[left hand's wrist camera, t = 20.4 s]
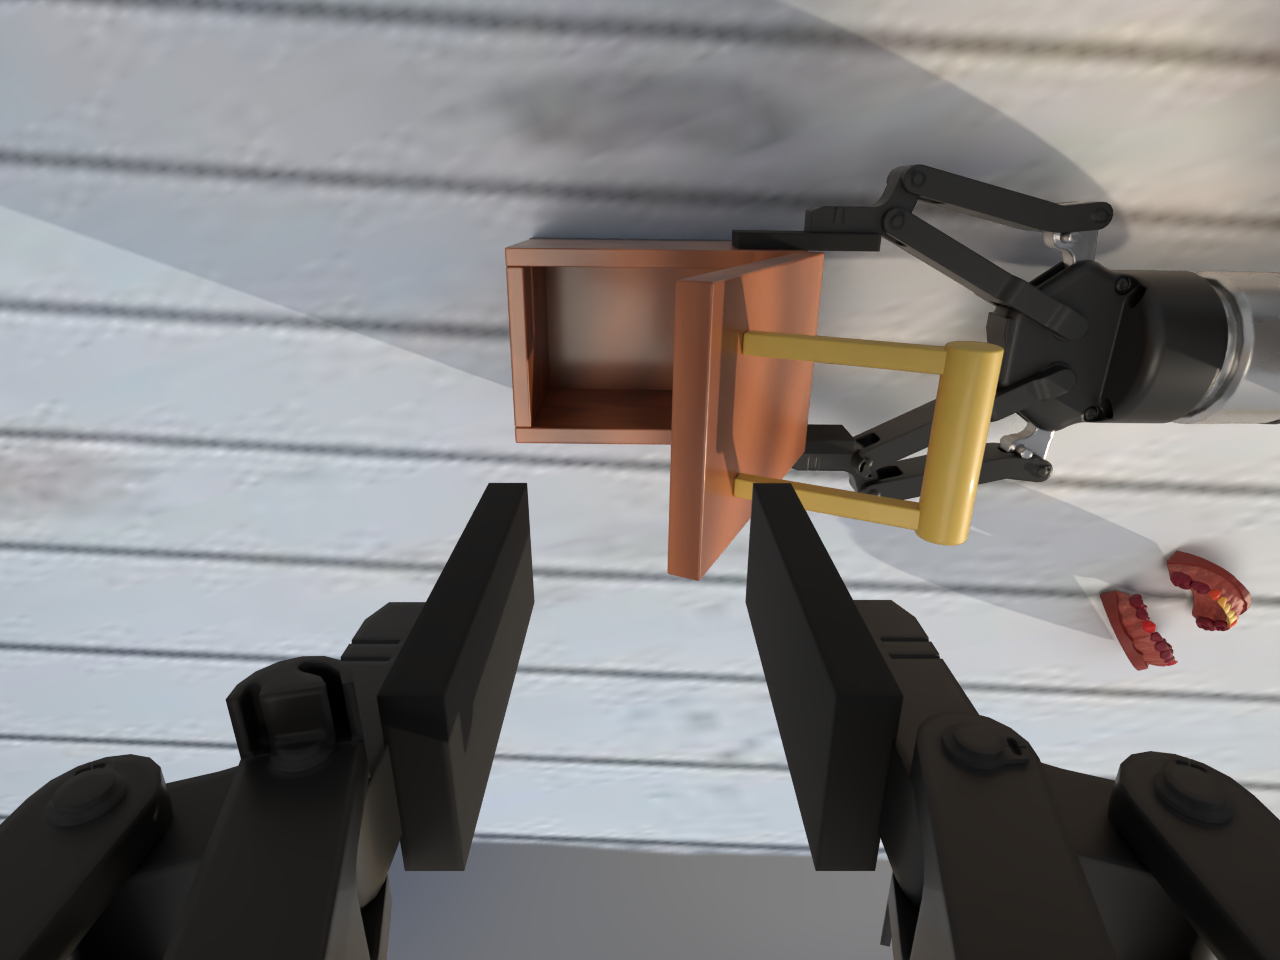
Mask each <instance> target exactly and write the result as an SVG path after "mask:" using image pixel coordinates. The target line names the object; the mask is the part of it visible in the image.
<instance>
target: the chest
mask: <svg viewBox="0 0 1280 960" xmlns="http://www.w3.org/2000/svg"><path fill="white" fill-rule="evenodd" d="M797 252H808V251H805V250H784V249H738V248H736V247H734V246H732V240H669V239H583V238H530V239H529V240H526V241H523V242H521V243H518V244H515V245H512V246H509V247H506V248H505V257H506V266H508V267H507V268H506V273H507V292H508V310H509V328H510V347H511V365H512V384H513V402H514V420H515V439H516V443H577V444H671V434H672V398H673V363H674V327H675V292H676V281H677V280H679V279H684V278H688V277H692V276H697V275H701V274H705V273H710V272H714V271H718V270H723V269H727V268H732V267H736V266H740V265H745V264H749V263H753V262H758V261H762V260H767V259H771V258H775V257H780V256H784V255H788V254H793V253H797Z"/></svg>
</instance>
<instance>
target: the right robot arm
mask: <svg viewBox="0 0 1280 960" xmlns="http://www.w3.org/2000/svg"><path fill="white" fill-rule="evenodd" d="M917 200H919V201H923V202H926V203H930V204H933V205H937V206H940V207H944V208H947V209H951V210H954V211H958V212H961V213H965V214H969V215H972V216H976V217H979V218H983V219H986V220H990V221H993V222H997V223H1000V224H1004V225H1007V226H1011V227H1014V228H1018V229H1023V230H1030V231H1042V232H1043V233H1042V238H1043V240H1044V243H1045V244H1046V246H1048V247H1050V248H1055V249H1058V250H1059V251H1060V252H1061V253H1062V256H1063V261H1062V262H1060V263H1058V264H1057V265H1055V266H1054V267H1052V268H1050V269H1049V270H1047V271H1046V272H1044V273H1043V274H1041V275H1040V276H1038V277H1036V278H1035V279H1033V280H1032V281H1030V282H1029V283H1028V282H1026V281H1024V280H1022V279H1020V278H1018V277H1016V276H1013V275H1011V274H1010V273H1008V272H1006V271H1005V270H1003V269H1002V268H1000V267H998V266H997V265H995V264H993V263H992V262H990V261H988V260H987V259H985V258H984V257H982V256H980V255H979V254H977V253H975V252H974V251H972V250H970V249H969V248H967V247H966V246H964V245H962V244H961V243H959V242H957V241H956V240H954V239H953V238H951V237H949V236H948V235H946V234H944V233H943V232H941V231H939V230H938V229H936V228H935V227H933V226H931V225H930V224H928V223H926V222H925V221H923V220H922V219H920V218H918V217H917V216H915V215H913V214H912V211H913V209H914V206H915V204H916V202H917ZM1112 217H1113V209H1112V207H1111V205H1110V204H1108V203H1107V202H1065V203H1053V202H1049V201H1046V200H1042V199H1039V198H1035V197H1032V196H1028V195H1025V194H1021V193H1018V192H1015V191H1011V190H1008V189H1004V188H1001V187H997V186H994V185H990V184H987V183H984V182H980V181H977V180H973V179H970V178H966V177H963V176H959V175H956V174H952V173H949V172H946V171H942V170H939V169H935V168H932V167H928V166H925V165H910V166H902V167H898V168H895V169H893V170H892V171H891V172H890V174H889V175H888V178H887V186H886V188H885V191H884V193H883V195H882V197H881V198H880V200H879V201H878V202H877V203H875V204H874V205H871V206H867V207H852V206H816V207H813V208H811V209H808V210H806V214H805V226H804V231H765V230H733V231H732V246H734V247H736V248H738V249H784V250H810V251H880V243H881V236H882V237H883V238H885V239H887V240H888V241H890V242H892V243H893V244H895V245H897V246H898V247H900V248H902V249H903V250H905V251H907V252H908V253H910V254H912V255H913V256H915V257H916V258H918V259H920V260H921V261H923V262H925V263H926V264H928V265H930V266H931V267H933V268H935V269H936V270H938V271H940V272H941V273H943V274H945V275H946V276H948V277H950V278H951V279H953V280H955V281H956V282H958V283H960V284H961V285H963V286H965V287H966V288H968V289H970V290H971V291H973V292H974V293H975V294H976V295H978V296H979V297H981V298H982V299H984V300H986V301H987V302H989V303H991V304H992V305H994V306H996V309H995V311H994V312H989V315H988V321H987V326H986V331H987V343H990V344H994V345H998V346H1000V347H1002V348H1003V350H1004V353H1003V358H1002V363H1001V368H1000V373H999V378H998V383H997V389H996V394H995V399H994V404H993V409H992V414H991V419H990V422H994V421H998V420H1000V419H1003V418H1005V417H1007V416H1009V415H1012V414H1014V413H1017V414H1018V415H1019V416H1021V417H1022V418H1023V419H1024V420H1025V421H1027V422H1028V424H1027V426H1026V427H1025V429H1024V430H1022V431H1021V432H1019V433H1016V434H1010V435H1005V436H1003V437H1002V438H1001V439H1000V443H986V445H985V450H984V455H983V460H982V465H981V470H980V476H979V481H978V484H982V483H987V482H992V481H997V480H1001V479H1015V480H1023V481H1032V482H1042V481H1045V480H1047V479H1048V478H1049V477H1050V476H1051V474H1052V470H1053V468H1052V465H1051V464H1050V463H1049V462H1048V461H1046V460H1045V457H1046V454H1047V451H1048V448H1049V445H1050V442H1051V439H1052V436H1053V434H1054V431H1058V430H1061V429H1063V428H1065V427H1067V426H1070V425H1072V424H1075V423H1080V422H1093V423H1167V422H1174V423H1182V424H1255V423H1256V424H1280V272H1224V271H1205V272H1197V273H1193V272H1188V271H1156V270H1109V269H1107V268H1105V267H1103V266H1102V265H1101V264H1099V263H1097V262H1095V261H1094V258H1095V250H1096V242H1097V234H1098V230H1099V229H1102V228H1104V227H1106V226H1107V225H1108V224H1109V223H1110V221H1111V220H1112ZM935 404H936V399H935V400H933V401H931V402H929V403H927V404H924V405H922V406H920V407H918V408H916V409H913V410H911V411H909V412H907V413H905V414H902V415H900V416H898V417H896V418H894V419H892V420H889V421H887V422H885V423H883V424H881V425H878V426H876V427H874V428H872V429H870V430H867V431H865V432H863V433H861V434H859V435H857V436H854V437H852V436H851V434H850V433H849V432H848V431H847V430H846V429H845V428H844V427H843V426H842V425H812V424H807V434H806V444H805V451H804V453H803V454H802V455H801V457H800V458H799V459H798V460H797V461H796V463H795V464H794V465H793V466H792V468H793V469H796V470H811V471H816V470H818V471H846V472H848V473H849V477H850V478H849V482H850V485H851V486H852V488H853V489H854V490H855V492H858V493H864V494H870V495H876V496H882V497H888V498H894V499H900V500H905V499H910V498H915V497H919V496H920V495H921V489H922V483H923V476H924V470H925V464H926V458H927V455H924V456H919V457H914V458H909V459H905V460H900V459H902V458H904V457H907V456H909V455H911V454H913V453H916V452H918V451H920V450H922V449H924V448H927V447H928V446H929V440H930V434H931V428H932V422H933V416H934V410H935ZM898 460H900V461H898Z"/></svg>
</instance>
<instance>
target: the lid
mask: <svg viewBox="0 0 1280 960" xmlns="http://www.w3.org/2000/svg"><path fill="white" fill-rule="evenodd" d="M823 263H824V253H820V252H797V253H793V254H788V255H784V256H780V257H775V258H771V259H767V260H762V261H758V262H753V263H749V264H745V265H740V266H736V267H732V268H727V269H723V270H718V271H714V272H710V273H705V274H701V275H697V276H692V277H688V278H684V279H679V280H677V281H676V292H675V327H674V363H673V398H672V434H671V469H670V504H669V540H668V574H671V575H676V576H680V577H684V578H688V579H693V580H697V581H699V580H700V579H701V578H702V577H703V576H704V574H705V573H706V572H707V571H708V570H709V568H710V567H711V566H712V565H713V563H714V562H715V561H716V560H717V559H718V557H719V556H720V555H721V554H722V552H723V551H724V550H725V549H726V547H727V546H728V545H729V544H730V543H731V541H732V540H733V539H734V538H735V536H736V535H737V534H738V533H739V531H740V530H741V529H742V528H743V527H744V525H745V524H746V523H747V522H748V520H749V519H750V518H751V507H752V491H753V483H791V484H792V486H793V488H794V490H795V491H796V493H797V495H798V497H799V499H800V501H801V503H802V505H803V507H804V508H805V510H808V511H814V512H819V513H825V514H830V515H836V516H841V517H847V518H852V519H858V520H863V521H869V522H874V523H880V524H885V525H891V526H896V527H902V528H907V529H913V530H915V532H916V534H917V535H918V536H919V537H920V538H922V539H924V540H926V541H928V542H931V543H935V544H940V545H959V544H962V543H964V542H965V541H966V540H967V537H968V532H969V527H970V522H971V517H972V511H973V506H974V501H975V496H976V491H977V486H978V481H979V476H980V470H981V465H982V460H983V455H984V450H985V445H986V440H987V435H988V429H989V424H990V419H991V414H992V409H993V404H994V399H995V394H996V389H997V383H998V378H999V373H1000V368H1001V363H1002V358H1003V353H1004V350H1003V348H1002V347H1000V346H998V345H994V344H990V343H983V342H973V341H955V342H950V343H947V344H946V345H945V347H942V346H930V345H919V344H907V343H895V342H883V341H872V340H860V339H848V338H837V337H825V336H816V333H817V323H818V313H819V303H820V293H821V283H822V273H823ZM814 362H820V363H830V364H840V365H850V366H860V367H870V368H880V369H890V370H900V371H910V372H920V373H930V374H940V380H939V386H938V392H937V398H936V404H935V410H934V416H933V422H932V428H931V434H930V440H929V446H928V452H927V458H926V464H925V470H924V476H923V483H922V489H921V495H920V501H919V503H918V502H912V501H906V500H900V499H894V498H888V497H882V496H876V495H870V494H864V493H858V492H852V491H846V490H840V489H834V488H828V487H822V486H816V485H811V484H805V483H799V482H793V481H787V480H782V479H783V477H784V476H785V475H786V474H787V473H788V471H789V470H790V469H791V468H792V466H793V465H794V464H795V463H796V461H797V460H798V459H799V458H800V457H801V455H802V454H803V453H804V451H805V444H806V434H807V424H808V414H809V403H810V393H811V383H812V373H813V363H814Z"/></svg>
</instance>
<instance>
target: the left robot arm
mask: <svg viewBox="0 0 1280 960" xmlns="http://www.w3.org/2000/svg"><path fill="white" fill-rule="evenodd" d="M533 605H534V588H533V572H532V555H531V539H530V523H529V507H528V491H527V483H489V484H488V486H487V488H486V490H485V491H484V493H483V495H482V497H481V499H480V501H479V503H478V505H477V507H476V508H475V510H474V512H473V514H472V516H471V518H470V520H469V522H468V524H467V526H466V527H465V529H464V531H463V533H462V535H461V537H460V539H459V541H458V543H457V544H456V546H455V548H454V550H453V552H452V554H451V556H450V558H449V560H448V561H447V563H446V565H445V567H444V569H443V571H442V573H441V575H440V577H439V578H438V580H437V582H436V584H435V586H434V588H433V590H432V592H431V594H430V595H429V597H428V599H427V601H426V602H389V603H387V604H386V605H385V606H383V607H382V608H381V609H379V610H378V611H376V612H375V613H374V614H372V615H371V616H370V617H368V618H367V619H365V621H364V622H363V624H362V625H361V627H360V628H359V630H358V631H357V633H356V634H355V636H354V637H353V639H352V644H349V645H348V647H347V648H346V650H345V651H344V653H343V654H342V656H341V660H337V659H334V658H330V657H326V656H302V657H298V658H293V659H289V660H284V661H280V662H277V663H275V664H272V665H270V666H268V667H265V668H263V669H261V670H258V671H256V672H254V673H253V674H252V675H250V676H249V677H247V678H246V679H245V680H243V681H242V682H240V683H239V684H237V686H236V687H235V688H234V689H233V691H232V692H231V693H230V695H229V696H228V697H227V698H226V703H227V707H228V710H229V714H230V718H231V722H232V726H233V730H234V734H235V738H236V741H237V745H238V749H239V753H240V757H241V760H240V763H239V765H238V766H236V767H233V768H229V769H226V770H223V771H219V772H215V773H211V774H206V775H202V776H197V777H193V778H188V779H184V780H180V781H175V782H171V783H165V780H164V777H163V774H162V771H161V767H160V766H159V765H158V764H156V763H155V762H154V761H153V760H152V759H151V758H149V757H144V756H138V755H132V754H128V755H120V756H112V757H105V758H102V759H99V760H96V761H93V762H89V763H86V764H83V765H80V766H78V767H76V768H74V769H72V770H70V771H68V772H66V773H64V774H62V775H60V776H58V777H56V778H55V779H53V780H51V781H49V782H48V783H47V784H45V785H44V786H43V787H42V788H40V789H39V790H38V791H36V792H35V793H34V794H33V795H31V796H30V797H29V798H27V799H26V800H25V801H24V802H23V803H22V804H21V805H20V806H19V807H18V808H17V809H16V810H15V811H14V812H13V813H12V814H11V815H10V816H9V817H8V818H7V819H6V820H5V821H4V822H3V823H2V824H1V825H0V960H386V959H387V948H388V938H389V928H390V917H391V907H392V897H391V891H390V884H389V878H388V871H389V868H390V865H391V863H392V860H393V857H394V854H395V852H396V849H397V846H398V844H399V841H400V843H401V849H402V856H403V862H404V868H405V871H464V870H465V866H466V862H467V858H468V854H469V850H470V847H471V843H472V839H473V835H474V831H475V827H476V824H477V820H478V816H479V812H480V808H481V805H482V801H483V797H484V793H485V789H486V785H487V782H488V778H489V774H490V770H491V766H492V762H493V759H494V755H495V751H496V747H497V743H498V739H499V736H500V732H501V728H502V724H503V720H504V716H505V713H506V709H507V705H508V701H509V697H510V693H511V690H512V686H513V682H514V678H515V674H516V670H517V667H518V663H519V659H520V655H521V651H522V647H523V644H524V640H525V636H526V632H527V628H528V624H529V621H530V617H531V613H532V609H533ZM746 605H747V609H748V613H749V617H750V621H751V624H752V628H753V632H754V636H755V640H756V644H757V647H758V651H759V655H760V659H761V663H762V667H763V670H764V674H765V678H766V682H767V686H768V690H769V693H770V697H771V701H772V705H773V709H774V713H775V716H776V720H777V724H778V728H779V732H780V736H781V739H782V743H783V747H784V751H785V755H786V759H787V762H788V766H789V770H790V774H791V778H792V782H793V785H794V789H795V793H796V797H797V801H798V805H799V808H800V812H801V816H802V820H803V824H804V827H805V831H806V835H807V839H808V843H809V847H810V850H811V854H812V858H813V862H814V866H815V870H816V871H875V868H876V862H877V856H878V850H879V843H880V838H881V840H882V843H883V846H884V848H885V851H886V854H887V856H888V859H889V862H890V864H891V867H892V870H893V873H892V878H891V884H890V890H889V895H888V901H887V907H886V912H885V918H884V924H883V930H882V936H881V943H880V944H881V945H885V946H890V942H891V937H892V947H893V957H894V960H1217V959H1218V960H1280V820H1279V819H1278V818H1277V817H1276V816H1275V815H1274V814H1273V813H1272V812H1271V811H1270V810H1269V809H1268V808H1267V807H1266V806H1264V805H1263V804H1262V803H1261V802H1260V801H1259V800H1258V799H1257V798H1256V797H1255V796H1254V795H1253V794H1252V793H1250V792H1249V791H1248V790H1246V789H1245V788H1244V787H1242V786H1241V785H1240V784H1239V783H1237V782H1236V781H1235V780H1233V779H1232V778H1231V777H1229V776H1227V775H1225V774H1223V773H1221V772H1219V771H1217V770H1215V769H1213V768H1211V767H1210V766H1208V765H1206V764H1204V763H1201V762H1198V761H1195V760H1193V759H1189V758H1186V757H1182V756H1179V755H1176V754H1170V753H1161V752H1153V751H1149V752H1143V753H1137V754H1132V755H1130V756H1129V757H1128V758H1127V759H1126V760H1124V761H1123V762H1122V763H1121V764H1120V767H1119V771H1118V774H1117V777H1116V780H1115V781H1114V780H1110V779H1105V778H1101V777H1096V776H1092V775H1087V774H1083V773H1078V772H1074V771H1069V770H1065V769H1061V768H1058V767H1054V766H1051V765H1047V764H1044V763H1041V762H1040V759H1039V757H1038V756H1037V754H1036V753H1035V751H1034V750H1033V748H1032V747H1031V745H1030V744H1029V742H1028V741H1026V740H1025V739H1024V738H1023V737H1021V736H1020V735H1019V734H1018V733H1016V732H1015V731H1014V730H1013V729H1011V728H1010V727H1008V726H1006V725H1004V724H1001V723H999V722H997V721H995V720H993V719H991V718H989V717H985V716H981V715H979V714H978V712H977V711H976V709H975V708H974V706H973V705H972V703H971V702H970V700H969V699H968V697H967V696H966V694H965V692H964V691H963V689H962V688H961V686H960V685H959V683H958V682H957V680H956V679H955V677H954V676H953V674H952V673H951V671H950V670H949V668H948V667H947V665H946V663H945V662H944V660H943V659H940V654H939V653H938V651H937V650H936V648H935V647H934V645H933V644H932V642H929V638H928V636H927V635H926V633H925V631H924V630H923V628H922V627H921V625H920V624H919V622H918V621H917V619H916V618H915V617H914V616H913V615H911V614H910V613H908V612H907V611H906V610H904V609H903V608H901V607H900V606H899V605H897V604H896V603H895V602H893V601H892V600H853V599H852V597H851V595H850V594H849V592H848V590H847V588H846V586H845V584H844V582H843V580H842V578H841V577H840V575H839V573H838V571H837V569H836V567H835V565H834V563H833V561H832V560H831V558H830V556H829V554H828V552H827V550H826V548H825V546H824V544H823V543H822V541H821V539H820V537H819V535H818V533H817V531H816V529H815V527H814V526H813V524H812V522H811V520H810V518H809V516H808V514H807V512H806V510H805V508H804V507H803V505H802V503H801V501H800V499H799V497H798V495H797V493H796V491H795V490H794V488H793V486H792V484H791V483H753V491H752V507H751V523H750V539H749V555H748V572H747V588H746Z"/></svg>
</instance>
